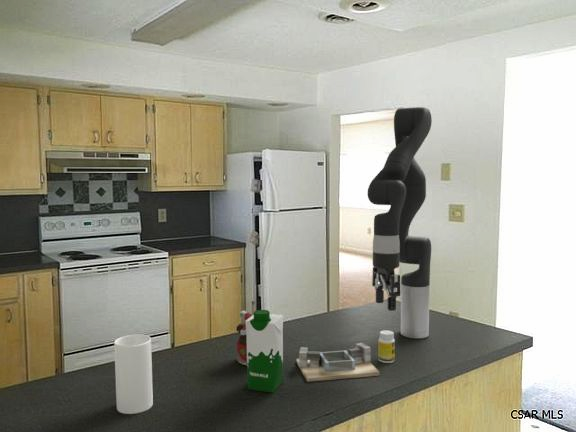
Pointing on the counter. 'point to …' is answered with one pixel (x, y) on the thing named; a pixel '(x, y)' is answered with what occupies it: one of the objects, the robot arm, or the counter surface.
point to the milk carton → (264, 351)
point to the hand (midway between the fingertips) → (385, 306)
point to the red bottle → (243, 336)
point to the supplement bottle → (386, 347)
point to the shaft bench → (336, 364)
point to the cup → (133, 373)
